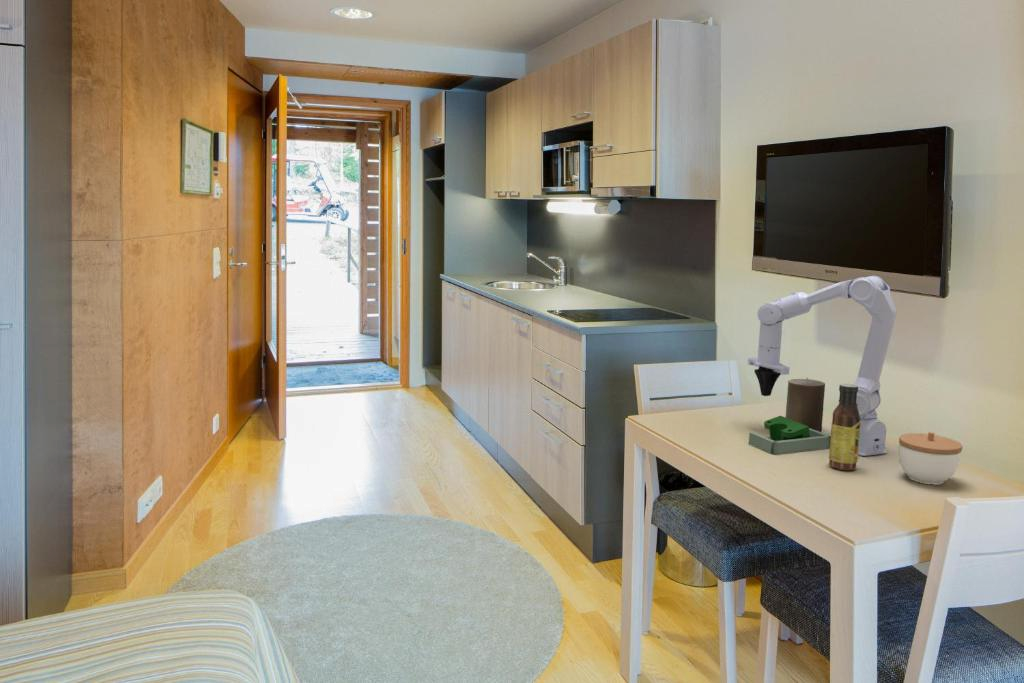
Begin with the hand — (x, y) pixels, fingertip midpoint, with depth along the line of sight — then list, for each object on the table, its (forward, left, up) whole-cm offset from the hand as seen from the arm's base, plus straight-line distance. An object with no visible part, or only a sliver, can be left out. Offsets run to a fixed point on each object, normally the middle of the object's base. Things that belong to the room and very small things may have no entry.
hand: (765, 395), depth 214 cm
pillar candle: (-3, -11, -10) cm, 15 cm away
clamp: (-12, +2, -10) cm, 16 cm away
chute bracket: (-14, +3, -10) cm, 17 cm away
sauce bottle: (-32, +3, -10) cm, 34 cm away
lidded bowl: (-45, -9, -10) cm, 47 cm away
